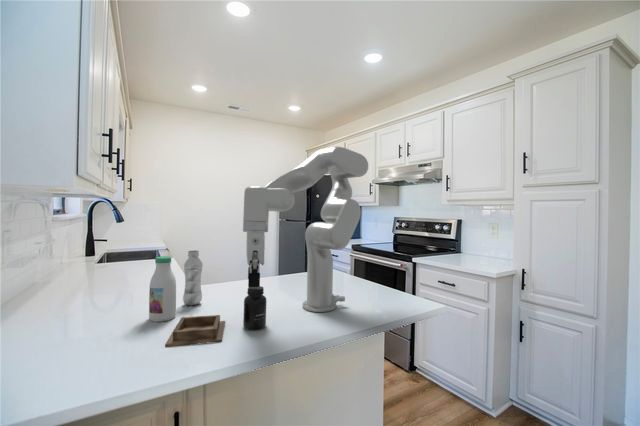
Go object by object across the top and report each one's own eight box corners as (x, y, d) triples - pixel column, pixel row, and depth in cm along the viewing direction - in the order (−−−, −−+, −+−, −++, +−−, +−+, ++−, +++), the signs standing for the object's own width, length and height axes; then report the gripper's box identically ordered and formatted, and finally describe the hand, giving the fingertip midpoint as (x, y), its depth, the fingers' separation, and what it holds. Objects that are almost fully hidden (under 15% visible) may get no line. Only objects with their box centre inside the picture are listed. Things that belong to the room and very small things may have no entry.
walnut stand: (225, 322, 94) (225, 312, 94) (221, 341, 80) (221, 330, 80) (177, 326, 90) (177, 316, 90) (165, 346, 77) (165, 334, 77)
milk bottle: (171, 312, 102) (171, 254, 102) (179, 318, 97) (180, 257, 96) (146, 317, 97) (146, 256, 97) (153, 324, 91) (153, 259, 91)
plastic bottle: (178, 305, 109) (179, 251, 109) (193, 300, 115) (193, 249, 115) (192, 308, 107) (192, 252, 106) (206, 303, 113) (206, 250, 113)
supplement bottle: (260, 332, 87) (261, 291, 87) (239, 329, 88) (239, 289, 88) (269, 323, 94) (269, 285, 94) (249, 321, 95) (249, 284, 95)
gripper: (270, 228, 83) (267, 289, 83) (266, 226, 100) (264, 277, 100) (242, 228, 81) (240, 290, 81) (243, 225, 98) (241, 277, 98)
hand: (253, 283), depth 90 cm, fingers open, 9 cm apart
